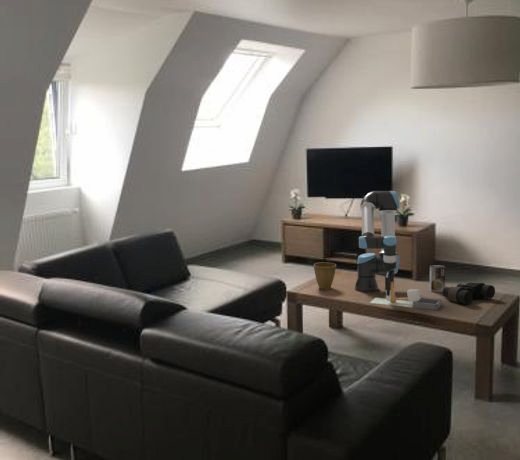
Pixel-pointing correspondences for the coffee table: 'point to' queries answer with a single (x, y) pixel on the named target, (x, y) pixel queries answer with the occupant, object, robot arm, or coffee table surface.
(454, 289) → the binoculars
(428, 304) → the lane rack
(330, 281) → the plant pot
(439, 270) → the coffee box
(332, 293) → the coffee table surface
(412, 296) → the pull block
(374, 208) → the robot arm
